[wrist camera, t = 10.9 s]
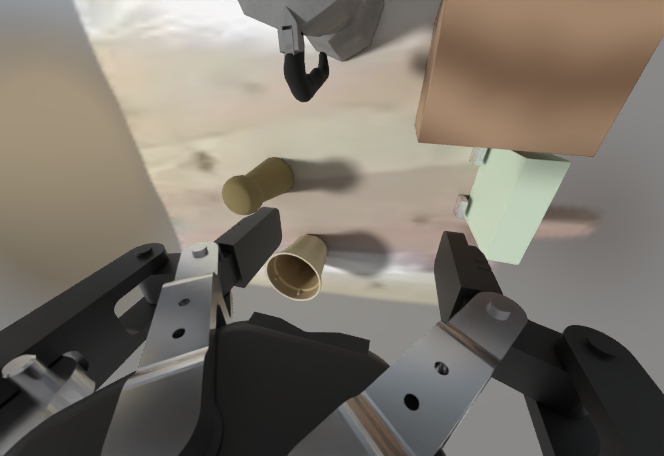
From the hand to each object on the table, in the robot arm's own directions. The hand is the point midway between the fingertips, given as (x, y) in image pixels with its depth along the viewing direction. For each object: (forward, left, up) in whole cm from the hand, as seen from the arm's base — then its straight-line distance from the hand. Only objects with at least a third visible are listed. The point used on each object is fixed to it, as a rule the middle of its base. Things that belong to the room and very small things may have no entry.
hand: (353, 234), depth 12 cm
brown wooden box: (-8, +8, -24) cm, 27 cm away
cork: (+6, -17, -24) cm, 30 cm away
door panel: (+3, +13, -24) cm, 27 cm away
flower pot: (+19, -11, -24) cm, 33 cm away
